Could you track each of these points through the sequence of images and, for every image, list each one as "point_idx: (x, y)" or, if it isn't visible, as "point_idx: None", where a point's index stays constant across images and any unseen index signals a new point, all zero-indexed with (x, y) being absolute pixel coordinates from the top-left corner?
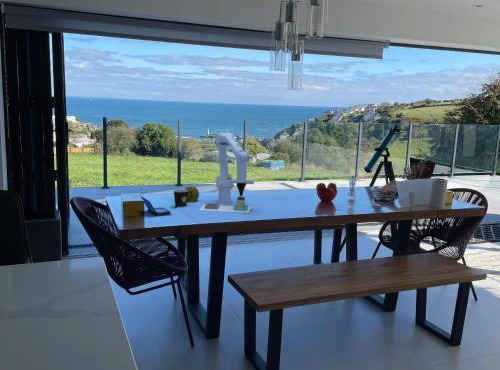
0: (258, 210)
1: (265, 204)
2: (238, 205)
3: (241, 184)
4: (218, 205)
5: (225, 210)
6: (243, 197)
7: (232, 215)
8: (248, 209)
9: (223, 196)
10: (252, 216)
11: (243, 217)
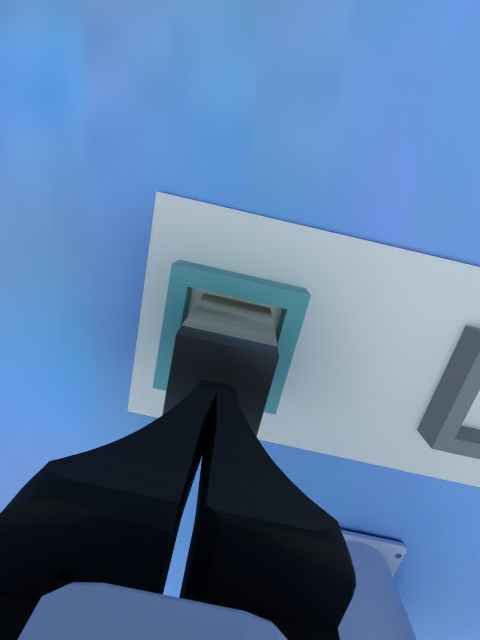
0: (72, 350)
1: None
2: (255, 318)
3: (153, 549)
4: (454, 394)
5: (389, 282)
6: (181, 398)
7: (331, 131)
8: (156, 326)
9: (379, 610)
10: (121, 87)
11: (219, 29)
